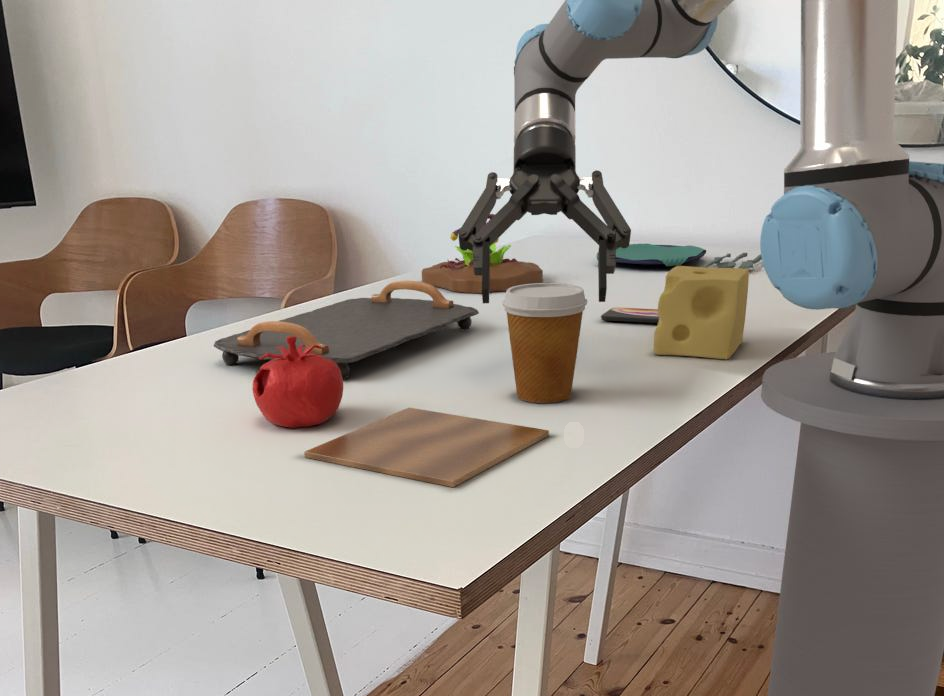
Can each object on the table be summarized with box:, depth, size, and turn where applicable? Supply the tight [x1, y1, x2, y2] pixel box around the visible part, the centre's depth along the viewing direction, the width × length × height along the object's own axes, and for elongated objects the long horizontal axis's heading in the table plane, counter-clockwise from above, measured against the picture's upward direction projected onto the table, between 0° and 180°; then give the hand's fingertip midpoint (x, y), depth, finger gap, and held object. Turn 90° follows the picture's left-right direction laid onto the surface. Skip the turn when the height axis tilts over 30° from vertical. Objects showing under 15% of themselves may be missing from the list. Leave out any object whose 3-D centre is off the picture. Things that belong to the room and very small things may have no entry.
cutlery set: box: [596, 243, 762, 269], centre depth 205 cm, size 20×30×2 cm, turn 60°
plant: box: [421, 213, 544, 294], centre depth 192 cm, size 20×20×11 cm
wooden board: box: [303, 407, 550, 488], centre depth 112 cm, size 18×18×1 cm
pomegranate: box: [252, 335, 344, 429], centre depth 120 cm, size 10×10×9 cm
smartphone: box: [600, 306, 659, 324], centre depth 163 cm, size 8×1×15 cm
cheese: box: [653, 265, 750, 360], centre depth 144 cm, size 10×11×10 cm
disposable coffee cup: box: [501, 282, 588, 404], centre depth 125 cm, size 10×10×12 cm
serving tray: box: [213, 280, 480, 381], centre depth 152 cm, size 39×23×6 cm, turn 150°
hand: (543, 296), depth 127 cm, fingers open, 13 cm apart
